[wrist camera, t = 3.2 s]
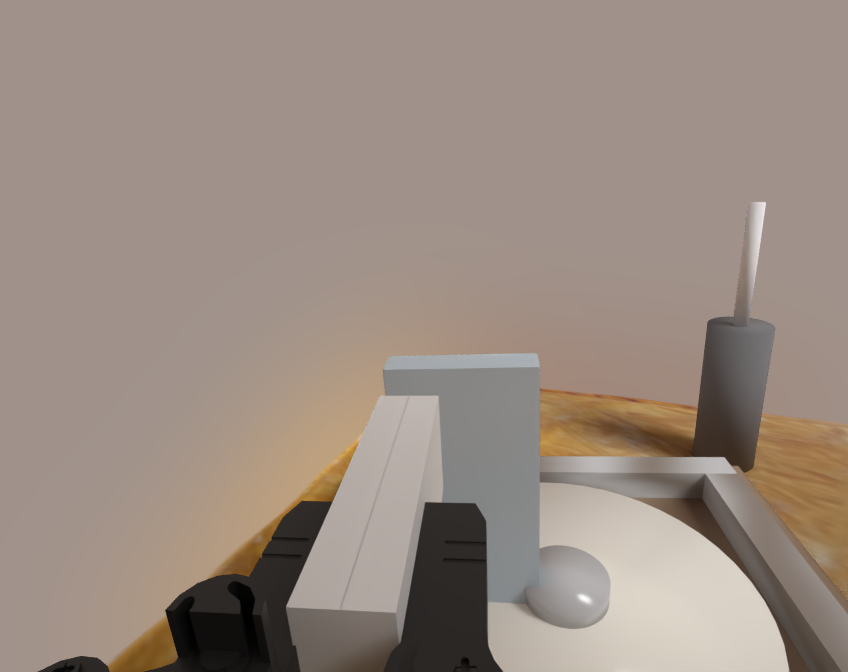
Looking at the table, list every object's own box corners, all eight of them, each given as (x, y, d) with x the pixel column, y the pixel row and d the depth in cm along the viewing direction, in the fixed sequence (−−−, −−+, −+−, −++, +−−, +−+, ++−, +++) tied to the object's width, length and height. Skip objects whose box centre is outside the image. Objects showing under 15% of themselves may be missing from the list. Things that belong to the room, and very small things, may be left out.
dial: (688, 509, 26) (713, 295, 22) (901, 883, 12) (1047, 500, 9) (411, 504, 27) (393, 306, 24) (340, 824, 14) (276, 489, 11)
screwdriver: (738, 444, 34) (774, 198, 29) (764, 473, 31) (809, 203, 26) (684, 444, 35) (711, 202, 30) (704, 473, 32) (737, 207, 26)
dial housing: (733, 496, 29) (742, 437, 28) (1312, 1294, 9) (1437, 1204, 8) (360, 490, 32) (353, 437, 31) (133, 1078, 12) (87, 988, 10)
